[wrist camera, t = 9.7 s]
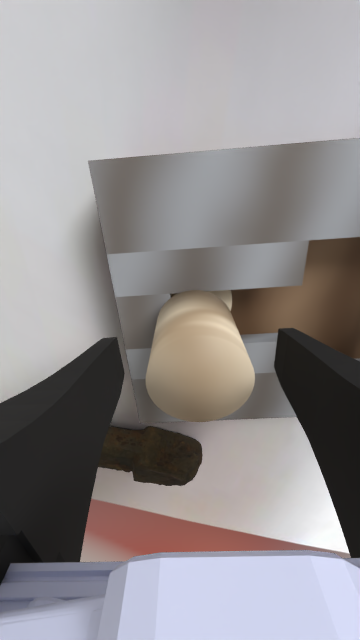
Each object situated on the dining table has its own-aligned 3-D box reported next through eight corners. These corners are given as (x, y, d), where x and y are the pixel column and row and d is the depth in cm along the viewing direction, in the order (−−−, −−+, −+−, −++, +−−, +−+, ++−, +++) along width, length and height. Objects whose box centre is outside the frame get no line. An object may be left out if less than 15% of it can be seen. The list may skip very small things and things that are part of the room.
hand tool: (10, 427, 25) (-23, 474, 21) (7, 398, 23) (-31, 443, 19) (193, 455, 27) (195, 503, 23) (203, 430, 25) (207, 477, 21)
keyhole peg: (227, 255, 16) (273, 315, 8) (229, 324, 18) (265, 426, 10) (150, 263, 16) (118, 330, 8) (160, 330, 19) (144, 434, 10)
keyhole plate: (428, 144, 14) (527, 123, 10) (358, 371, 21) (399, 412, 17) (113, 170, 15) (87, 160, 11) (147, 381, 22) (140, 423, 18)
